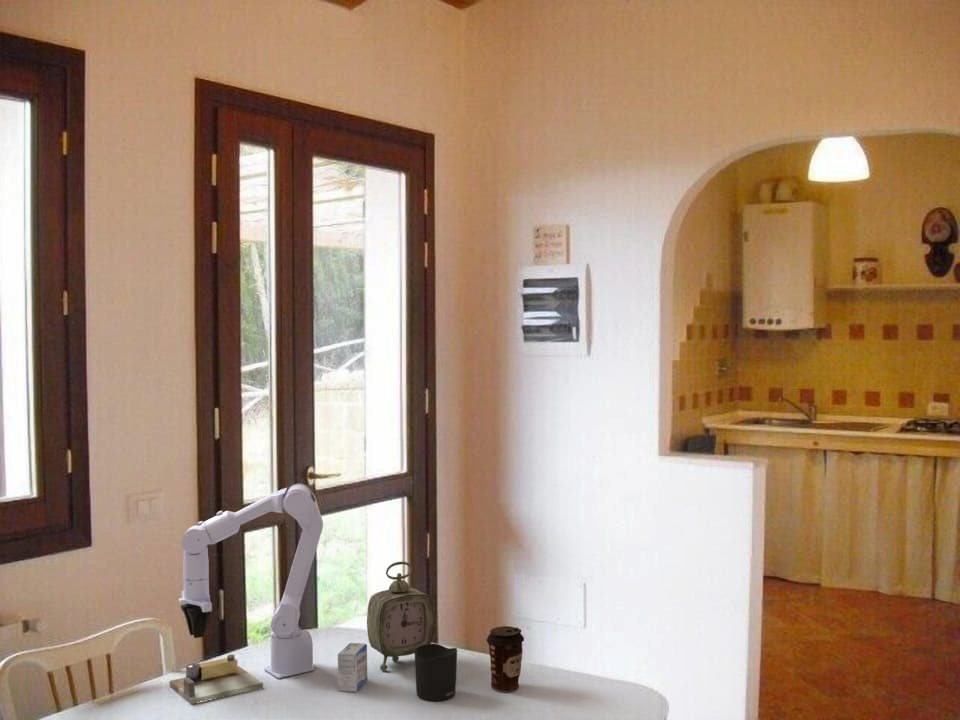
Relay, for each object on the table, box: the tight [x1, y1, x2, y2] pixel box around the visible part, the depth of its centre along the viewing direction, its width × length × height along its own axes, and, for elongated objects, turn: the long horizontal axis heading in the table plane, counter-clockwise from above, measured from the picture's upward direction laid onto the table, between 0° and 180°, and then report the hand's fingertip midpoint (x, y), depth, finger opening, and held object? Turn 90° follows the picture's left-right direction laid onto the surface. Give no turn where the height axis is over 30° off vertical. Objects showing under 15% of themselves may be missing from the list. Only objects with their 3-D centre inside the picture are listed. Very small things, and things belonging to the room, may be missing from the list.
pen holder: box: [414, 643, 458, 702], centre depth 210 cm, size 9×9×10 cm
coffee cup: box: [486, 625, 525, 693], centre depth 214 cm, size 9×8×13 cm
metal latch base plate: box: [169, 665, 264, 705], centre depth 215 cm, size 16×14×4 cm
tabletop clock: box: [366, 561, 435, 672], centre depth 230 cm, size 14×9×25 cm, turn 120°
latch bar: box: [185, 654, 238, 682], centre depth 218 cm, size 12×3×4 cm, turn 127°
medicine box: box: [337, 642, 368, 693], centre depth 216 cm, size 8×4×9 cm, turn 168°
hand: (196, 635), depth 223 cm, fingers open, 2 cm apart
